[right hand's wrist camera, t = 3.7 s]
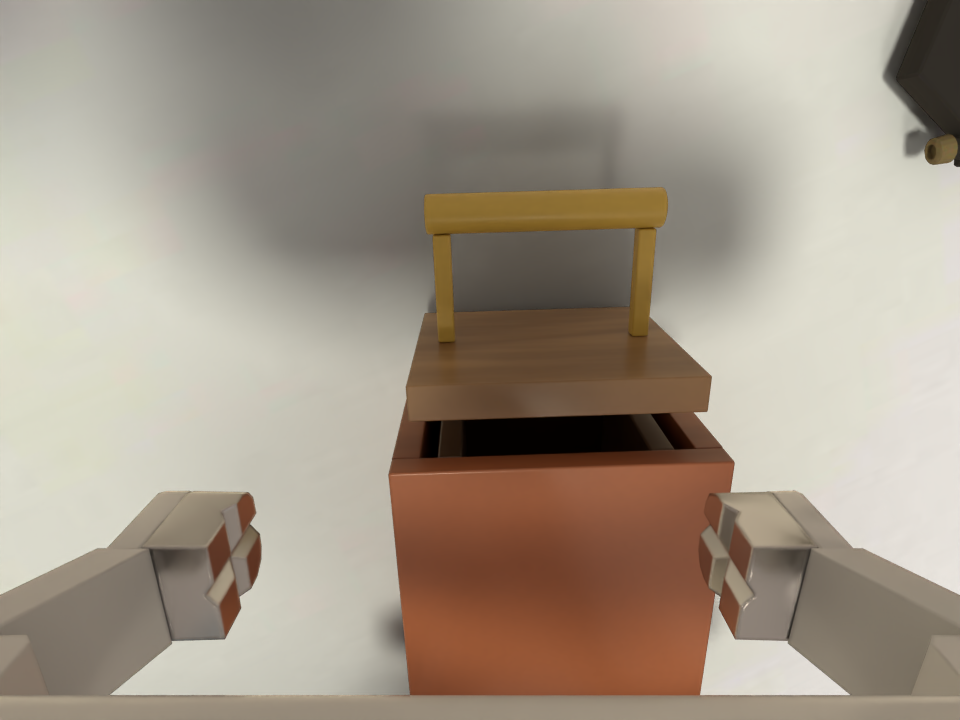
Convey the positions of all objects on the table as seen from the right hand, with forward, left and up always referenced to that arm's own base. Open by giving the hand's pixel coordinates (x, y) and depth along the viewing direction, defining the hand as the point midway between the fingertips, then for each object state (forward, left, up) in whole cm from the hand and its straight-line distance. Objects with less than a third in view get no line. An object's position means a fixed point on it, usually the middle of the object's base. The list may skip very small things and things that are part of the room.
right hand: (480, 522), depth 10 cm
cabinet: (+14, -1, -16) cm, 21 cm away
